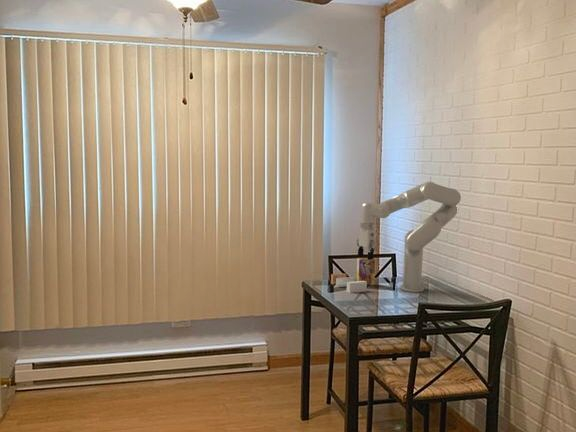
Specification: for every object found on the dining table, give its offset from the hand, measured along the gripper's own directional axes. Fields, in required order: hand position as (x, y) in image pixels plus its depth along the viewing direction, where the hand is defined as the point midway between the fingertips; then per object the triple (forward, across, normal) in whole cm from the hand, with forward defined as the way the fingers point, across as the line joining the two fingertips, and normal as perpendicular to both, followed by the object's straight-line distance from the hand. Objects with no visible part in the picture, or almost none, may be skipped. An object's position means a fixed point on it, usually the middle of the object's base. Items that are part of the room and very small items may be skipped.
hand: (365, 257), depth 324 cm
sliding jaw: (+15, +2, +12) cm, 19 cm away
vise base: (+16, -4, +12) cm, 20 cm away
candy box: (+16, -1, -1) cm, 16 cm away
